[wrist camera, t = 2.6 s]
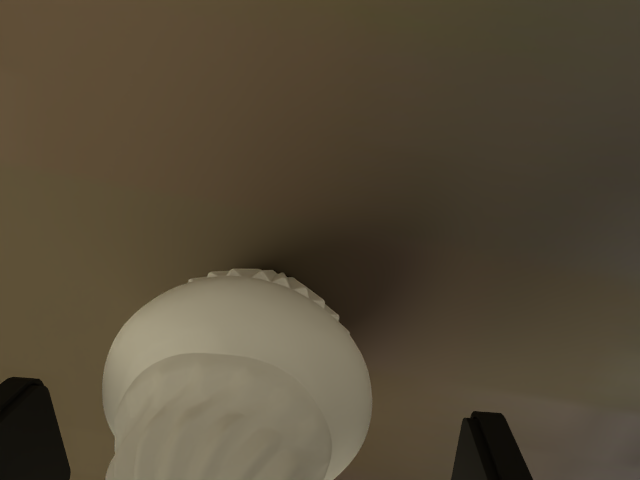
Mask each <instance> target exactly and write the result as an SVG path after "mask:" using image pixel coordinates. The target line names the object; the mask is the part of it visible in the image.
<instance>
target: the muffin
mask: <svg viewBox="0 0 640 480" xmlns="http://www.w3.org/2000/svg"><path fill="white" fill-rule="evenodd" d="M102 400H103V408H104V413H105V417H106V420H107V422H108V425H109V427H110V429H111V431H112V433H113V435H114V437H115V446H114V449H115V455H114V457H113V459H112V461H111V463H110V464H109V467H108V470H107V473H106V479H105V480H334V479H335V478H336V477H337V476H338V475H339V474H340V473H341V472H342V471H343V470H344V469H345V468H346V467H347V466H348V465H349V464H350V462H351V461H352V460H353V459H354V457H355V456H356V455H357V453H358V452H359V450H360V448H361V446H362V444H363V442H364V440H365V437H366V435H367V432H368V428H369V424H370V420H371V413H372V392H371V383H370V378H369V373H368V370H367V367H366V364H365V361H364V359H363V356H362V354H361V352H360V351H359V349H358V347H357V345H356V344H355V342H354V341H353V339H352V338H351V336H350V332H349V331H348V330H347V329H346V328H345V327H344V326H343V325H342V324H341V323H340V322H339V315H338V314H337V313H336V312H334V311H333V310H332V309H331V308H329V307H328V306H327V305H326V304H325V301H324V300H323V299H322V298H321V297H319V296H318V295H317V294H315V293H314V292H313V291H312V290H310V289H309V288H307V287H306V286H305V285H303V284H302V283H300V282H299V281H297V280H296V279H295V278H294V277H286V275H285V274H284V273H283V272H282V273H279V274H277V273H276V272H275V271H274V270H261V269H231V270H230V271H212V272H210V273H208V275H207V277H199V278H191V279H189V281H188V283H186V284H183V285H180V286H177V287H175V288H172V289H170V290H168V291H166V292H164V293H162V294H161V295H159V296H157V297H156V298H154V299H153V300H151V301H150V302H149V303H147V304H146V305H144V306H143V307H142V308H141V309H139V310H138V311H137V312H136V313H135V314H134V315H133V316H132V317H131V318H130V319H129V320H128V321H127V322H126V323H125V324H124V326H123V327H122V328H121V330H120V331H119V333H118V334H117V336H116V338H115V339H114V341H113V344H112V346H111V348H110V351H109V353H108V356H107V360H106V363H105V367H104V373H103V381H102Z"/></svg>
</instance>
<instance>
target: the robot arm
mask: <svg viewBox="0 0 640 480" xmlns="http://www.w3.org/2000/svg"><path fill="white" fill-rule="evenodd" d="M70 473H71V472H70V467H69V463H68V459H67V456H66V452H65V448H64V445H63V441H62V437H61V434H60V430H59V426H58V423H57V419H56V415H55V412H54V408H53V404H52V401H51V397H50V393H49V390H48V388H47V387H45V386H44V384H43V382H42V381H41V380H39V379H34V378H20V377H11V378H8V379H7V380H5V381H4V382H2V383H1V384H0V480H69V479H70ZM451 480H533V479H532V476H531V474H530V472H529V470H528V467H527V465H526V463H525V461H524V459H523V456H522V454H521V452H520V450H519V448H518V445H517V443H516V441H515V439H514V437H513V434H512V432H511V430H510V428H509V426H508V423H507V421H506V419H505V417H504V416H503V415H502V414H501V413H491V412H478V411H473V413H472V415H471V418H464V419H463V421H462V425H461V431H460V436H459V441H458V446H457V452H456V457H455V462H454V468H453V473H452V478H451Z"/></svg>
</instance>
